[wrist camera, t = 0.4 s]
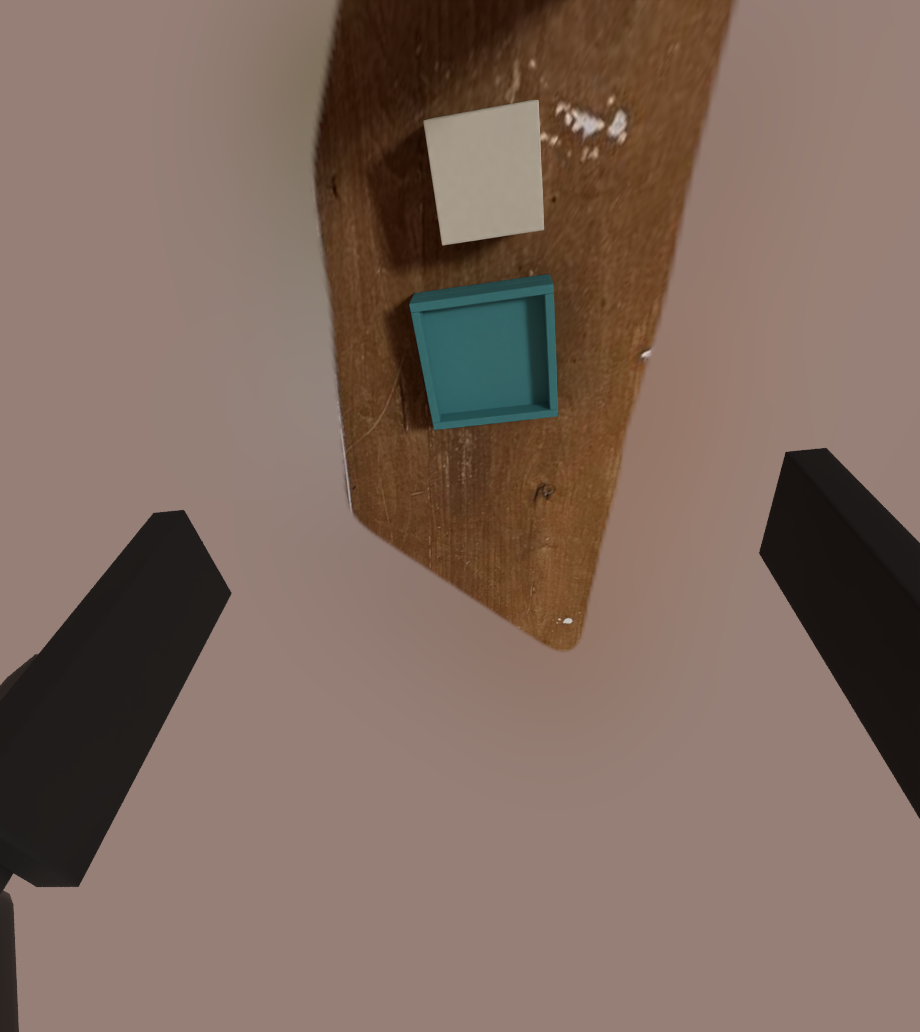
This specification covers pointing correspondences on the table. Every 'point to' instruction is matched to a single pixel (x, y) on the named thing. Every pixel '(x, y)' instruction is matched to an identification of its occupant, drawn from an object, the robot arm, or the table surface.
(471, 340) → the shallow tray
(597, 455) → the table surface
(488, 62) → the table surface
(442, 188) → the light gray cube
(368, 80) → the table surface
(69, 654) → the robot arm
